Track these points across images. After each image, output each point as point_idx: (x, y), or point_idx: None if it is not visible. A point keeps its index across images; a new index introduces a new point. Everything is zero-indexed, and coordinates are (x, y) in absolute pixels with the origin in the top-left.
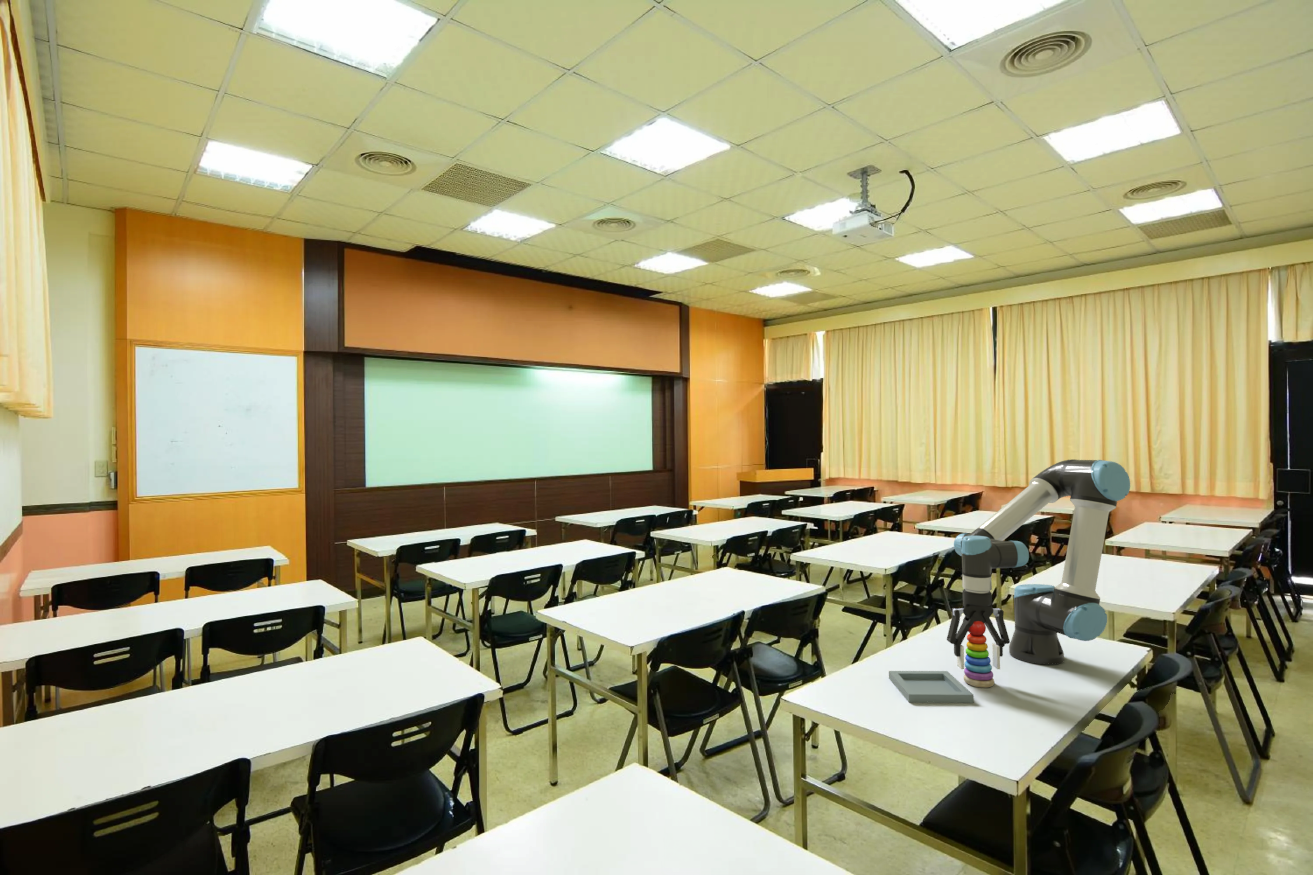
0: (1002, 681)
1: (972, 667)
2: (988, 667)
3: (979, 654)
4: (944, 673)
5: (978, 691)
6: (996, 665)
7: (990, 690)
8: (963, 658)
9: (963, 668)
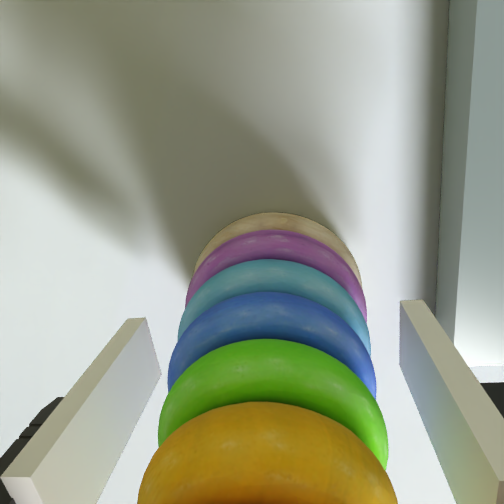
0: None
1: (340, 295)
2: (213, 290)
3: (281, 359)
4: (494, 327)
5: (325, 157)
6: (140, 340)
7: (244, 184)
8: (434, 357)
9: (405, 303)
